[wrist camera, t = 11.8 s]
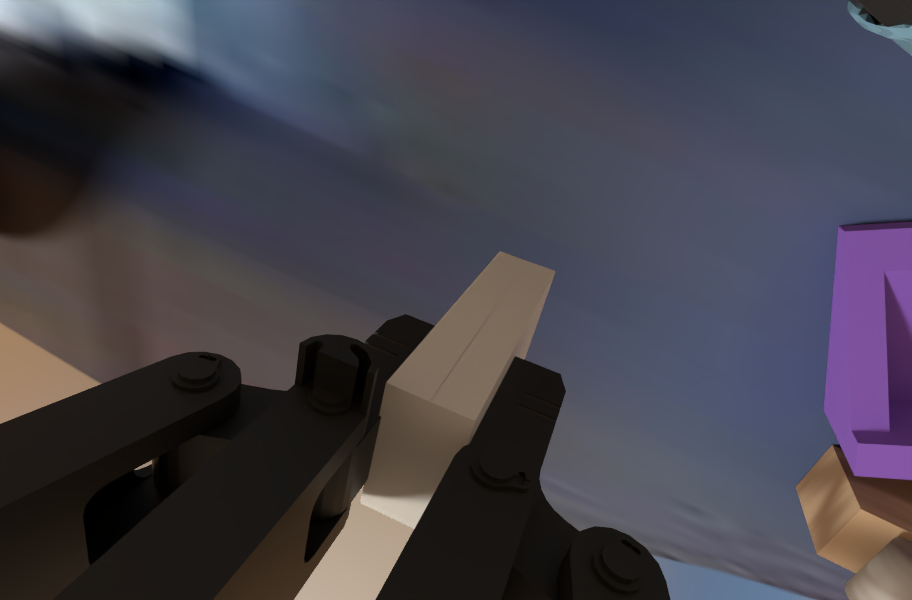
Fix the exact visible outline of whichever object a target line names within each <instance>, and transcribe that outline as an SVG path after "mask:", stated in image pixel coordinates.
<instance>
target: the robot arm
mask: <svg viewBox="0 0 912 600" xmlns="http://www.w3.org/2000/svg"><path fill="white" fill-rule="evenodd" d="M847 8H848V11H849V13H850V14H851V15H852V17H853V18H854V19H855V20H856V21H857V22H858V23H859V24H860V25H861V26H862V27H863V28H865V29H867V30H869V31H871V32H875V33H877V34H879V35H882V36H884V37H887V38H890V39H892V40H893V41H894V42H895V43H897V44H898V45H899V46H900V47H901V48H903V49H904V50H905V51H906V52H907V53H909V54H910V55H911V56H912V0H849V1H848V7H847ZM555 272H556V271H553V270H550V269H548V268H545V267H542V266H539V265H537V264H534V263H531V262H528V261H525V260H523V259H520V258H517V257H514V256H512V255H509V254H506V253H503V252H501V251H500V252H499V253H498V254H497V255H496V256H495V257H494V259H493V260H492V261H491V262H490V263H489V264H488V266H487V267H486V268H485V269H484V270H483V271H482V272H481V274H480V275H479V276H478V277H477V278H476V279H475V281H474V282H473V283H472V284H471V285H470V286H469V288H468V289H467V290H466V291H465V292H464V293H463V294H462V296H461V297H460V298H459V299H458V300H457V301H456V303H455V304H454V305H453V306H452V307H451V308H450V309H449V311H448V312H447V313H446V314H445V315H444V316H443V318H442V319H441V320H440V321H439V322H438V323H437V324H436V326H434V325H432V324H429V323H427V322H424V321H422V320H419V319H417V318H414V317H412V316H409V315H407V314H405V315H402V316H399V317H396V318H394V319H391V320H388V321H386V322H385V323H384V324H383V325H382V326H381V327H380V328H379V329H378V330H377V331H376V332H375V333H374V335H373V334H372V335H371V336H370V337H369V338H368V339H367V340H366V341H365V343H362V342H361V341H359V340H357V339H353V338H350V337H346V336H343V335H328V334H326V335H320V336H314V337H311V338H309V339H307V340H305V341H303V342H301V343H300V345H299V354H298V362H297V371H296V379H295V385H293V386H292V387H291V388H290V389H289V390H288V391H281V390H271V389H266V388H260V387H255V386H249V385H244V384H241V372H240V368H239V367H238V366H237V365H236V364H235V363H234V362H233V361H232V360H230V359H228V358H226V357H224V356H222V355H219V354H214V353H208V352H187V353H183V354H179V355H176V356H172V357H169V358H167V359H164V360H161V361H159V362H156V363H154V364H151V365H149V366H146V367H144V368H141V369H139V370H136V371H134V372H131V373H128V374H126V375H123V376H121V377H118V378H116V379H113V380H111V381H108V382H106V383H103V384H101V385H98V386H95V387H93V388H91V389H88V390H85V391H83V392H80V393H78V394H75V395H73V396H70V397H68V398H65V399H62V400H60V401H57V402H55V403H52V404H50V405H47V406H45V407H42V408H40V409H37V410H34V411H32V412H30V413H27V414H24V415H22V416H19V417H17V418H14V419H12V420H9V421H7V422H4V423H2V424H0V600H294V598H295V597H296V595H297V594H298V593H299V591H300V590H301V588H302V587H303V585H304V584H305V582H306V581H307V580H308V578H309V577H310V575H311V574H312V572H313V571H314V569H315V568H316V566H317V565H318V564H319V562H320V561H321V559H322V558H323V556H324V555H325V553H326V552H327V551H328V549H329V548H330V546H331V544H332V543H333V542H334V540H335V539H336V537H337V536H338V535H339V533H340V532H341V530H342V529H343V527H344V525H345V523H346V520H347V518H348V515H349V510H350V506H351V502H352V500H353V499H354V497H355V496H356V494H357V493H358V492H359V490H360V489H361V488H362V486H363V485H364V487H363V492H362V497H361V501H360V503H361V504H363V505H365V506H367V507H369V508H371V509H373V510H376V511H378V512H380V513H382V514H384V515H386V516H388V517H390V518H392V519H394V520H396V521H398V522H400V523H403V524H405V525H407V526H409V527H411V528H413V529H414V531H413V532H412V534H411V536H410V538H409V540H408V542H407V543H406V545H405V547H404V549H403V551H402V553H401V555H400V556H399V558H398V560H397V562H396V564H395V565H394V567H393V569H392V571H391V573H390V575H389V576H388V578H387V580H386V582H385V584H384V585H383V587H382V589H381V591H380V593H379V594H378V596H377V598H376V600H670V596H669V592H668V588H667V584H666V580H665V578H664V575H663V573H662V571H661V568H660V566H659V564H658V562H657V561H656V560H655V559H654V558H653V556H652V555H651V554H650V553H649V551H648V550H647V549H646V548H645V547H644V546H643V545H641V544H640V543H639V542H637V541H636V540H635V539H633V538H632V537H631V536H629V535H627V534H625V533H622V532H620V531H618V530H615V529H613V528H607V527H596V526H594V527H591V528H588V529H585V530H582V531H578V530H577V529H576V528H574V527H573V526H572V525H571V524H569V523H568V522H567V521H565V520H564V519H563V518H562V517H561V516H560V515H559V514H558V513H557V512H556V511H554V509H553V508H552V507H551V505H550V504H549V503H548V501H547V500H546V498H545V496H544V494H543V492H542V490H541V485H540V480H539V477H540V470H541V467H542V464H543V461H544V458H545V454H546V451H547V448H548V445H549V442H550V439H551V436H552V433H553V429H554V426H555V423H556V420H557V417H558V414H559V411H560V407H561V405H562V401H563V398H564V395H565V392H566V390H565V387H564V384H563V381H562V378H561V374H559V373H556V372H554V371H551V370H549V369H546V368H544V367H541V366H539V365H536V364H534V363H531V362H529V361H526V360H524V359H525V357H526V354H527V351H528V348H529V345H530V342H531V340H532V337H533V334H534V331H535V328H536V325H537V323H538V320H539V317H540V314H541V311H542V309H543V306H544V303H545V300H546V297H547V294H548V292H549V289H550V286H551V283H552V280H553V277H554V275H555ZM151 460H152V464H151V465H149V466H147V467H144V468H141V469H139V470H134V469H136V468H137V467H139V466H141V465H143V464H145V463H147V462H149V461H151Z"/></svg>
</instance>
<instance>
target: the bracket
mask: <svg viewBox="0 0 912 600" xmlns="http://www.w3.org/2000/svg"><path fill="white" fill-rule="evenodd" d="M824 412H825V414H826V416H827V418H828V420H829V422H830V425H831V427H832V429H833V431H834V433H835V435H836V437H837V439H838V442H839V444H840V446H841V448H842V450H843V452H844V454H845V457H846V459H847V461H848V463H849V465H850V467H851V469H852V471H853V474H854V476H863V477H877V478H891V479H904V480H912V222H897V223H880V224H863V225H846V226H839V227H838V239H837V252H836V264H835V277H834V289H833V301H832V314H831V326H830V339H829V351H828V364H827V376H826V388H825V401H824Z"/></svg>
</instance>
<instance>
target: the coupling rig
mask: <svg viewBox="0 0 912 600" xmlns="http://www.w3.org/2000/svg"><path fill="white" fill-rule="evenodd" d="M796 489H797V493H798V496H799V499H800V502H801V505H802V508H803V512H804V515H805V518H806V521H807V524H808V527H809V531H810V534H811V537H812V540H813V543H814V546H815V550H816V553H817V554H818V555H820V556H822V557H824V558H826V559H828V560H830V561H832V562H834V563H836V564H838V565H840V566H842V567H844V568H846V569H848V570H850V571H852V572H854V573H856V574H855V575H854V576H853V577H852V578H851V579H850V580H849V581H848V582H847V583H846V584H845V592H846V594H847V596H848V598H849V600H912V481H910V480H904V479H891V478H877V477H863V476H854V474H853V471H852V469H851V467H850V465H849V463H848V461H847V459H846V457H845V454H844V452H843V450H842V449H840V448H838V447H836V446H834V445H832V446H831V447H830V448H829V449H828V450H827V451H826V453H825V454H824V455H823V456H822V457H821V458H820V460H819V461H818V462H817V463H816V464H815V465H814V466H813V468H812V469H811V470H810V471H809V472H808V473H807V474H806V476H805V477H804V478H803V479H802V480H801V481H800V482H799V484H798V485H797V486H796Z"/></svg>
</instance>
